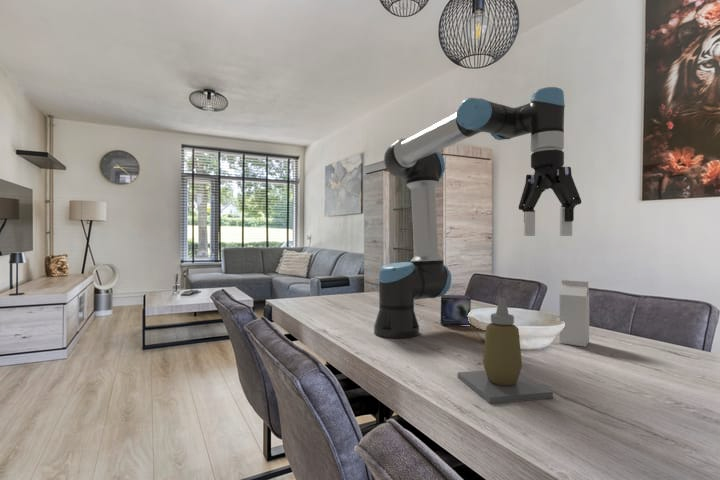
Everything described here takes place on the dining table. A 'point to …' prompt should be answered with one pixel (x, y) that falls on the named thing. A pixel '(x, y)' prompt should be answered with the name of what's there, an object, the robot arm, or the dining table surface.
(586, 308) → the milk carton
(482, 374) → the slate trivet
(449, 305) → the small box
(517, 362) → the squeeze bottle
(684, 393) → the dining table surface
